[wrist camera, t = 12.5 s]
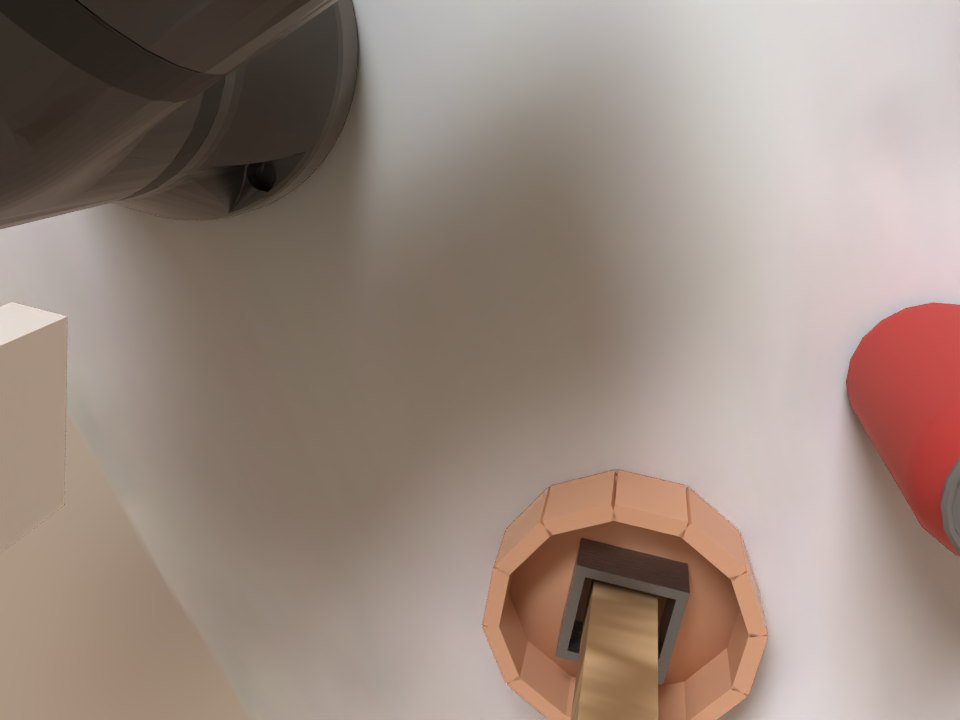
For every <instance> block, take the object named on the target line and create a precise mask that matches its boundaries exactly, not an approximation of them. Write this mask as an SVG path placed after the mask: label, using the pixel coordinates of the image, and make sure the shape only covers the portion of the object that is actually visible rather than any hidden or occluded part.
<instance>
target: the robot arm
mask: <svg viewBox="0 0 960 720" xmlns="http://www.w3.org/2000/svg"><path fill="white" fill-rule="evenodd" d="M357 62H358V42H357V29H356V21H355V15H354V10H353V5H352V1H351V0H0V229H3V228H7V227H12V226H16V225H20V224H24V223H28V222H32V221H37V220H41V219H45V218H49V217H53V216H58V215H62V214H66V213H70V212H74V211H78V210H83V209H87V208H91V207H95V206H99V205H104V204H108V203H114V204H118V205H121V206H125V207H128V208H131V209H135V210H138V211H142V212H145V213H148V214H152V215H156V216H160V217H164V218H170V219H176V220H215V219H221V218H227V217H230V216H234V215H238V214H241V213H244V212H247V211H250V210H253V209H256V208H259V207H262V206H265V205H267V204H270V203H272V202H274V201H276V200H278V199H280V198H281V197H283V196H285V195H287V194H288V193H290V192H291V191H293V190H294V189H295V188H297V187H298V186H299V185H300V184H302V183H303V182H304V181H305V180H306V179H307V178H308V177H309V176H310V175H311V174H312V173H313V172H314V171H315V170H316V169H317V168H318V167H319V165H320V164H321V163H322V162H323V160H324V159H325V158H326V156H327V155H328V153H329V152H330V150H331V149H332V147H333V145H334V144H335V142H336V140H337V138H338V136H339V134H340V132H341V130H342V128H343V125H344V123H345V120H346V118H347V115H348V112H349V109H350V105H351V102H352V98H353V93H354V88H355V82H356V75H357ZM67 324H68V316H64V315H60V314H56V313H52V312H48V311H44V310H41V309H37V308H33V307H29V306H25V305H21V304H17V303H14V302H11V303H8V304H6V305H3V306H0V553H2V552H3V551H4V550H6V549H7V548H8V547H10V546H11V545H12V544H14V543H15V542H16V541H18V540H19V539H20V538H21V537H23V536H24V535H26V534H27V533H28V532H29V531H31V530H32V529H34V528H35V527H36V526H38V525H39V524H40V523H42V522H43V521H44V520H46V519H47V518H48V517H49V516H51V515H52V514H53V513H55V512H56V511H57V510H59V509H60V508H61V507H63V506H64V505H65V450H66V448H65V447H66V387H67Z"/></svg>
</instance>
